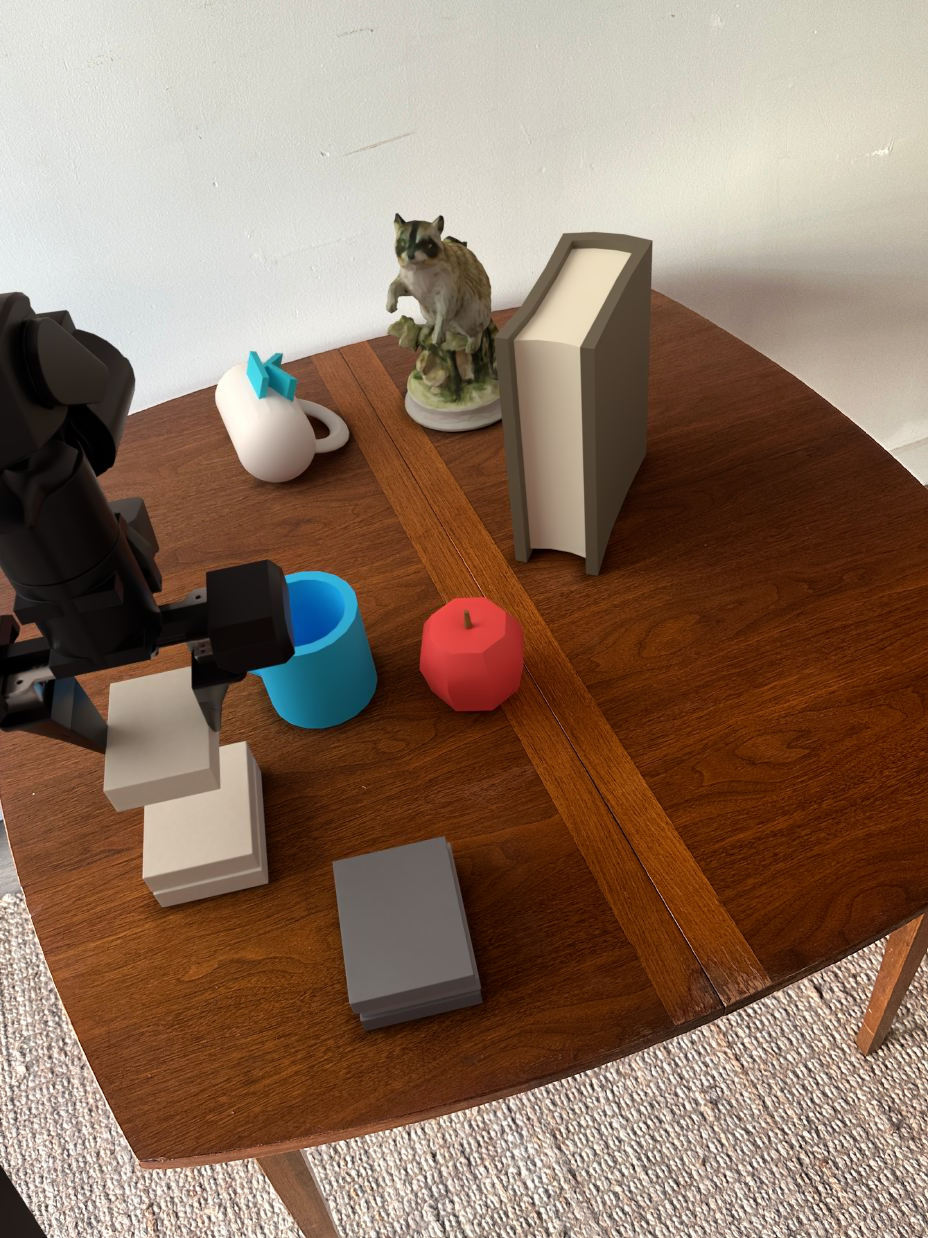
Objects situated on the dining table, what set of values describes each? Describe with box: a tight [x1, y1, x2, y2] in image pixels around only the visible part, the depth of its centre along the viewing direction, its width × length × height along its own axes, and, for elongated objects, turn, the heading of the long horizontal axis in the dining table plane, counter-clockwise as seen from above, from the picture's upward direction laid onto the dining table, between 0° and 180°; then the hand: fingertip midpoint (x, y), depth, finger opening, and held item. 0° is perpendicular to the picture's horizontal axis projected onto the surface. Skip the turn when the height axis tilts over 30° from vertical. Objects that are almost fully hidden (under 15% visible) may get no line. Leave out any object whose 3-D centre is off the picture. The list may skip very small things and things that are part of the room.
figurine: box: [385, 212, 502, 433], centre depth 93 cm, size 12×14×20 cm
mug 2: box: [248, 570, 378, 729], centre depth 75 cm, size 12×8×8 cm
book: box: [494, 231, 654, 577], centre depth 80 cm, size 16×7×21 cm, turn 159°
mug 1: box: [214, 350, 350, 483], centre depth 95 cm, size 12×9×12 cm
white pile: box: [142, 740, 269, 908], centre depth 68 cm, size 9×7×4 cm
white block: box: [103, 665, 221, 813], centre depth 60 cm, size 8×6×2 cm
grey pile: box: [332, 835, 484, 1032], centre depth 61 cm, size 9×7×4 cm
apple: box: [419, 596, 525, 712], centre depth 73 cm, size 8×8×8 cm
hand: (165, 737), depth 60 cm, fingers closed on white block, 6 cm apart
